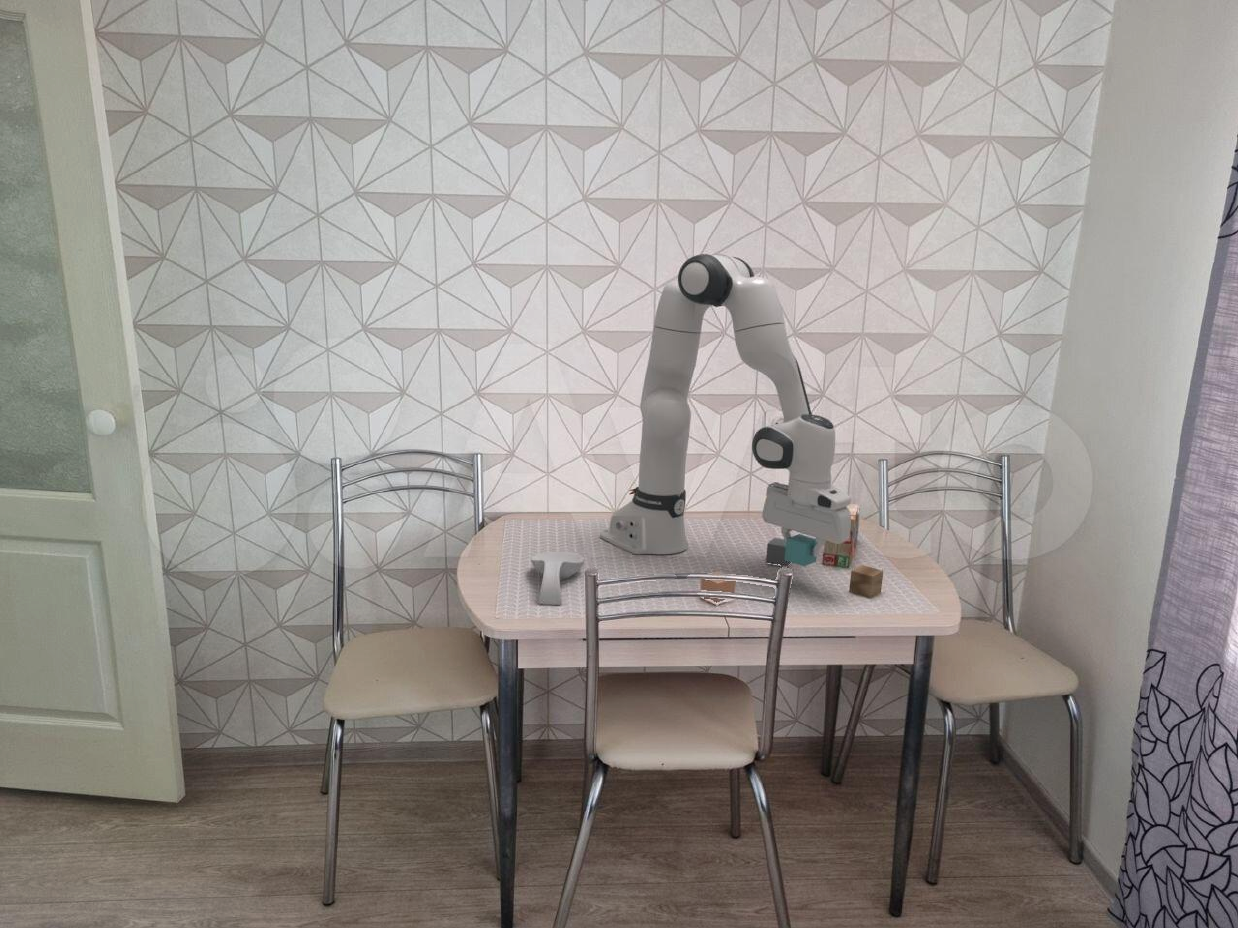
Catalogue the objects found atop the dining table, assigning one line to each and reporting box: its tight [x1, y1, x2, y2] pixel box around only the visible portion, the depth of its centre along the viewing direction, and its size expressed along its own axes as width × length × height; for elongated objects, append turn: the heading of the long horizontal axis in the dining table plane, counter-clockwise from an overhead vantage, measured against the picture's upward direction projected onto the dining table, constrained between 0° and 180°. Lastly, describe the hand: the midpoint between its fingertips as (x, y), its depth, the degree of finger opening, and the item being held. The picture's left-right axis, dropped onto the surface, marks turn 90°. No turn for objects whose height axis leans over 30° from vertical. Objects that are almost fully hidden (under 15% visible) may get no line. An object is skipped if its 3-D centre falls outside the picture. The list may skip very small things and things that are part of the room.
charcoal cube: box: [765, 537, 791, 568], centre depth 211 cm, size 5×5×5 cm
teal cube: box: [785, 533, 818, 567], centre depth 196 cm, size 5×5×5 cm
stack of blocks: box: [822, 503, 861, 569], centre depth 218 cm, size 21×6×12 cm, turn 161°
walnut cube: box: [848, 564, 884, 599], centre depth 194 cm, size 5×5×5 cm
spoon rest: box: [530, 551, 585, 606], centre depth 193 cm, size 24×12×7 cm, turn 0°
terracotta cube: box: [700, 570, 736, 603], centre depth 188 cm, size 5×5×5 cm
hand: (801, 551), depth 196 cm, fingers closed on teal cube, 5 cm apart
